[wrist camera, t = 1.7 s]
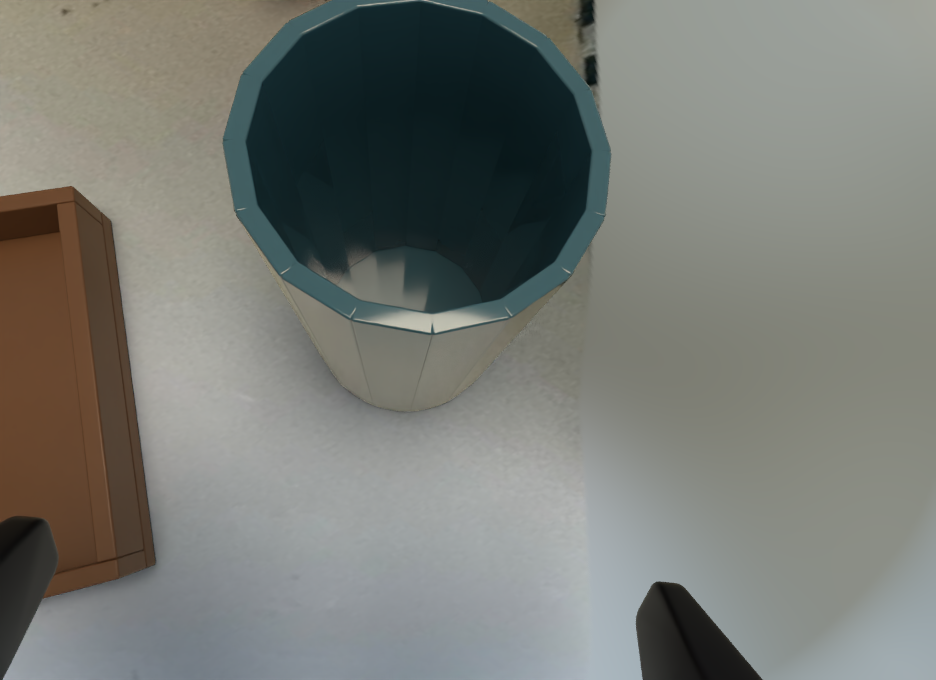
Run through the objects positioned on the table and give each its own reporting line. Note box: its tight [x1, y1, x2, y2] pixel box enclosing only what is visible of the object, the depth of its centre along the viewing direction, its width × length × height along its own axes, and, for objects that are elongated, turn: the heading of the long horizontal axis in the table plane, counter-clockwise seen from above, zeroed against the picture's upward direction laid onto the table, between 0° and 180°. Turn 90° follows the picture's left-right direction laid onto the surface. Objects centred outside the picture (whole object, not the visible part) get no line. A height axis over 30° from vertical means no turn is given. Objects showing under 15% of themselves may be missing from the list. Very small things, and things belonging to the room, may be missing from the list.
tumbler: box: [223, 0, 611, 412], centre depth 17 cm, size 7×7×13 cm
